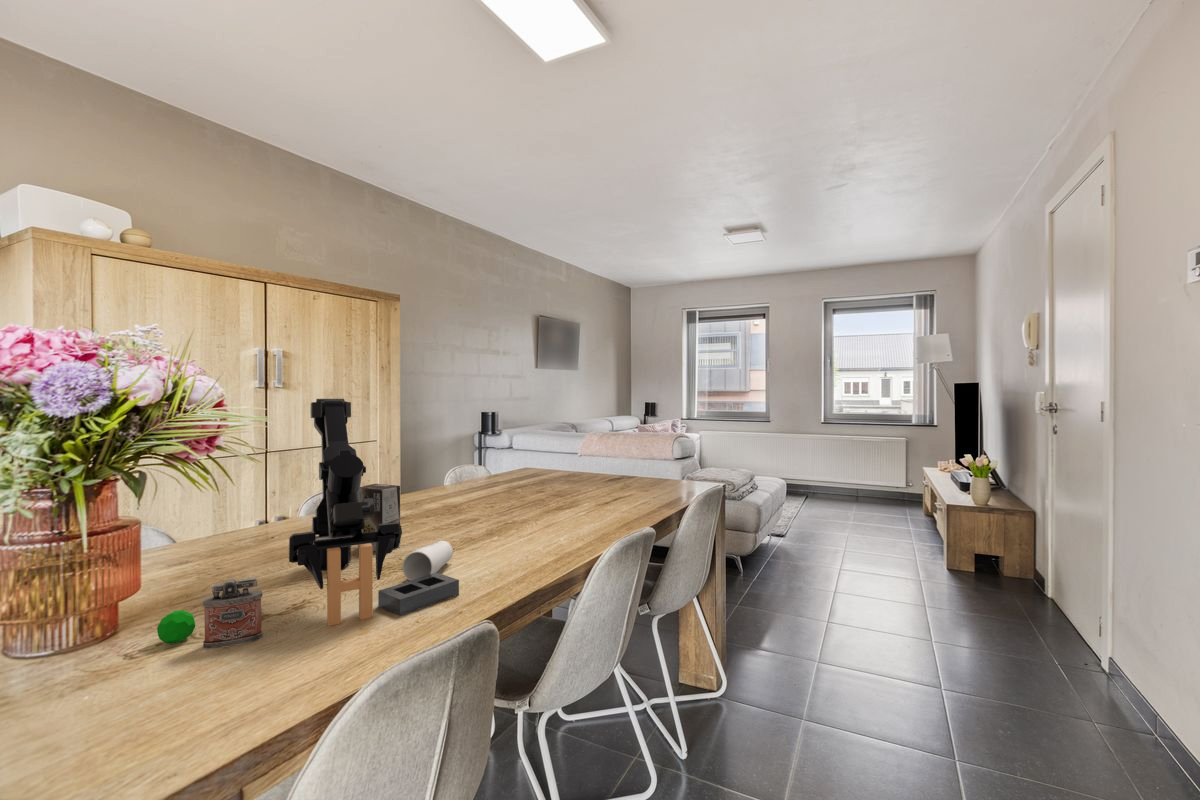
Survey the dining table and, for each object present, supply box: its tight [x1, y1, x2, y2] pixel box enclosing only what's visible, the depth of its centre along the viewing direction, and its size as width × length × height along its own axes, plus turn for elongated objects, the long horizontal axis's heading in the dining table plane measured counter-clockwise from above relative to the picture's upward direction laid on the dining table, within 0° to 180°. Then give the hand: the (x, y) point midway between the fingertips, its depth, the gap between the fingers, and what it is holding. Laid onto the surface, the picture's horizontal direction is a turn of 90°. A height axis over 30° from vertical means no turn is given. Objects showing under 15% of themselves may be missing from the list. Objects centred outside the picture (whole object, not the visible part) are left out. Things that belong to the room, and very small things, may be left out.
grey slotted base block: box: [377, 572, 460, 617], centre depth 107 cm, size 13×7×3 cm, turn 143°
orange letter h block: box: [326, 543, 374, 627], centre depth 98 cm, size 7×2×13 cm, turn 121°
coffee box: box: [357, 483, 401, 552], centre depth 143 cm, size 9×6×16 cm
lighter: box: [202, 577, 264, 650], centre depth 89 cm, size 8×3×10 cm, turn 117°
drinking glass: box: [402, 540, 454, 581], centre depth 123 cm, size 7×7×15 cm
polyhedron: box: [156, 610, 196, 645], centre depth 89 cm, size 5×5×5 cm
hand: (351, 583), depth 97 cm, fingers open, 9 cm apart
